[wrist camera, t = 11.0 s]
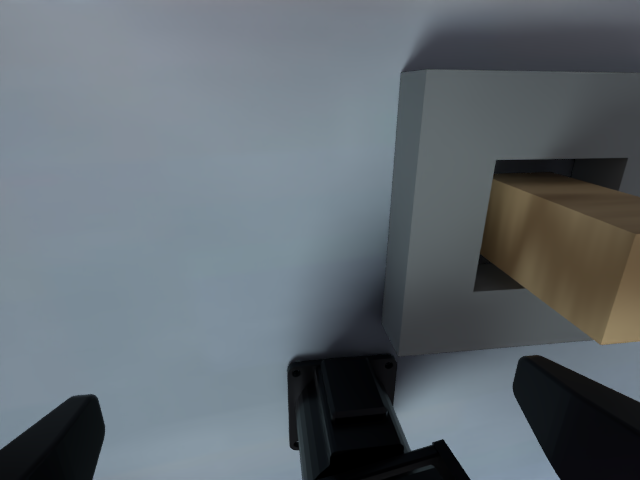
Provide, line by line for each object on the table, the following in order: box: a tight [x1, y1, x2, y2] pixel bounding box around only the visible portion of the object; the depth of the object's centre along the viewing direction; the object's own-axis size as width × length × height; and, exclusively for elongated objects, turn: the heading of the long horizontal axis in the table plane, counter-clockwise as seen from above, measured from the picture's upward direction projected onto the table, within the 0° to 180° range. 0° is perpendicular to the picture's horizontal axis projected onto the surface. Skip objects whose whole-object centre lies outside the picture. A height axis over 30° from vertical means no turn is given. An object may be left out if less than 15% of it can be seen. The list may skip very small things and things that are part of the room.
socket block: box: [382, 69, 640, 357], centre depth 19 cm, size 13×13×3 cm
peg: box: [480, 172, 640, 345], centre depth 17 cm, size 4×4×9 cm
